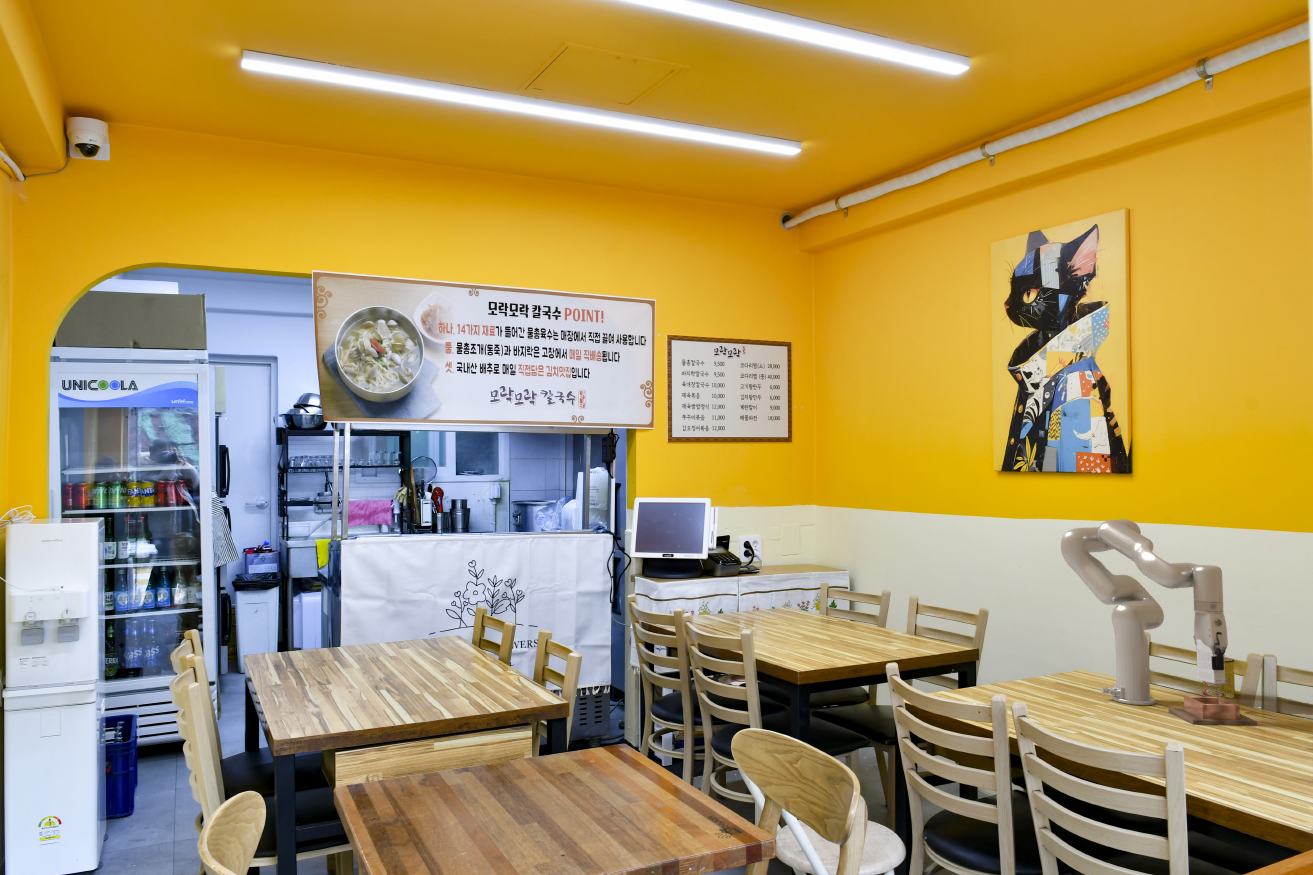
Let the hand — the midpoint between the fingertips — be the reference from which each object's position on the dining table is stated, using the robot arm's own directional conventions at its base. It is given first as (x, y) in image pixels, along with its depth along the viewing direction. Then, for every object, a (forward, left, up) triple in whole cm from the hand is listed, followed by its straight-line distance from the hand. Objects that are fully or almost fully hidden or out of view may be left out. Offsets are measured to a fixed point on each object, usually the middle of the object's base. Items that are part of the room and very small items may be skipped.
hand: (1210, 666), depth 269 cm
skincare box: (0, 0, -4) cm, 4 cm away
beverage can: (+19, +31, -15) cm, 40 cm away
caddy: (0, 0, -15) cm, 15 cm away
